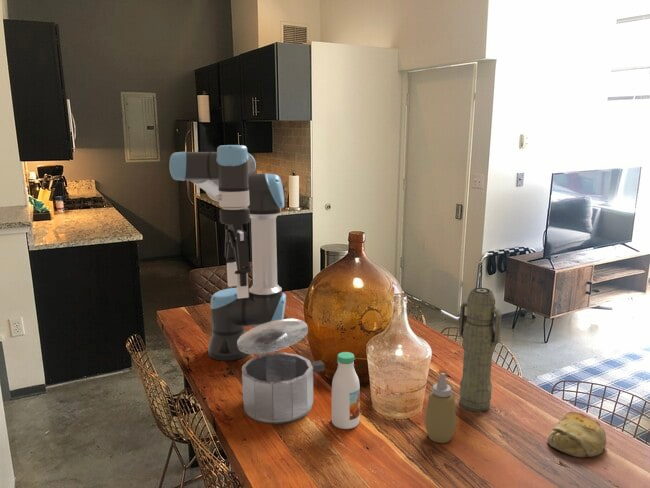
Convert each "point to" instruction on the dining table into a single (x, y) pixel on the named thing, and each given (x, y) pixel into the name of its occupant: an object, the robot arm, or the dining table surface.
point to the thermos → (478, 348)
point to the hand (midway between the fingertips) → (237, 291)
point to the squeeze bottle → (441, 412)
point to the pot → (278, 387)
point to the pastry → (578, 436)
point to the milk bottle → (345, 393)
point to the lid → (272, 336)
